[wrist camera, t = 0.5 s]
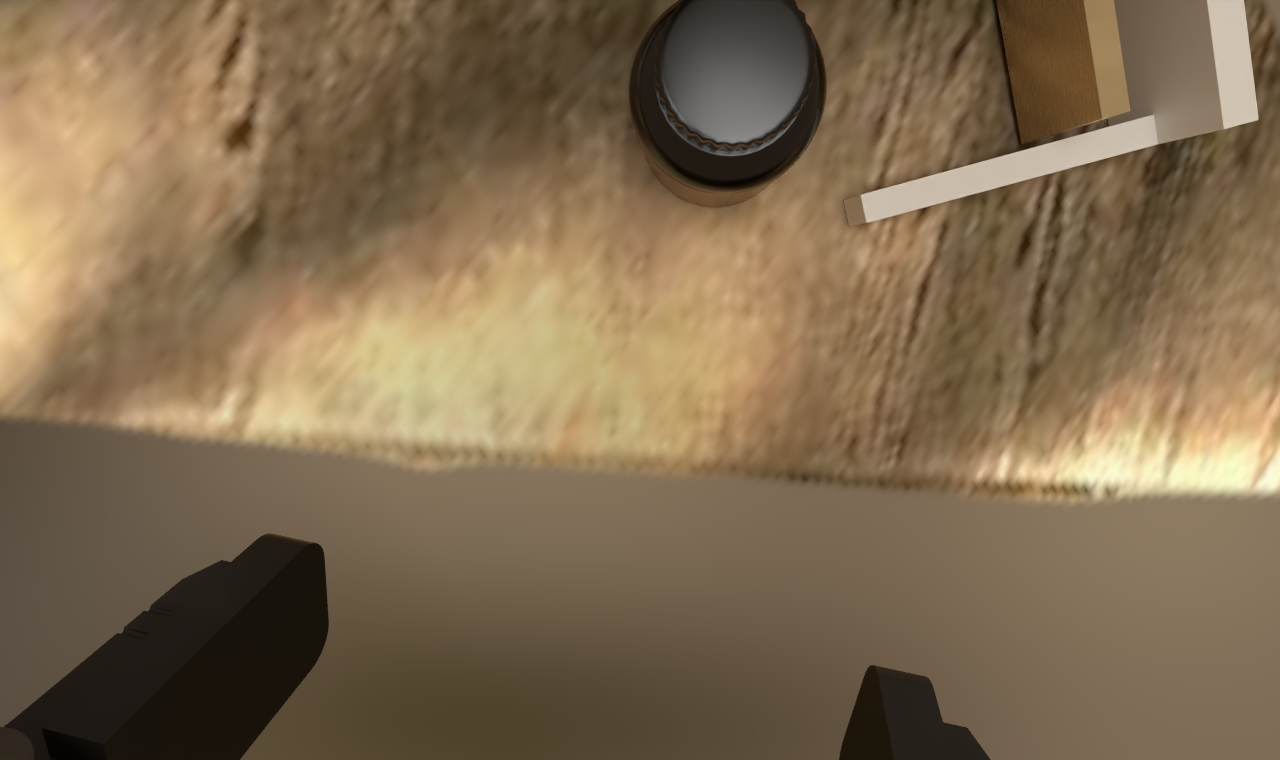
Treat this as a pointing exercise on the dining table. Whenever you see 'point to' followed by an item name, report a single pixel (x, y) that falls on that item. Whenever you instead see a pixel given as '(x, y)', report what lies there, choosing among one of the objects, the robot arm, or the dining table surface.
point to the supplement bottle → (726, 96)
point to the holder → (1158, 96)
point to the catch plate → (1062, 64)
